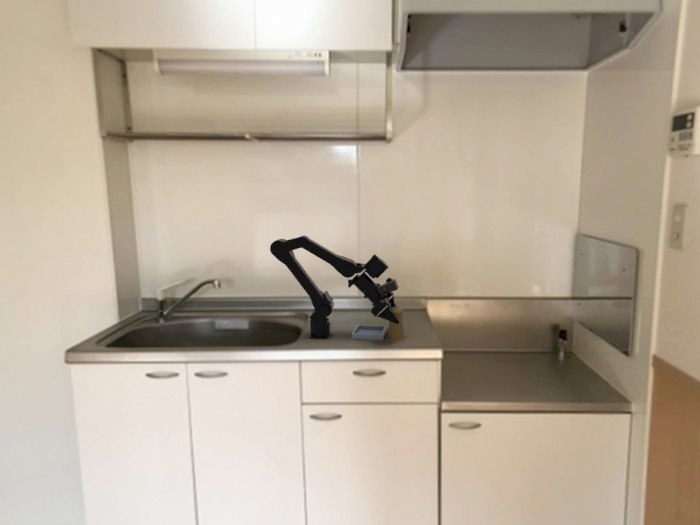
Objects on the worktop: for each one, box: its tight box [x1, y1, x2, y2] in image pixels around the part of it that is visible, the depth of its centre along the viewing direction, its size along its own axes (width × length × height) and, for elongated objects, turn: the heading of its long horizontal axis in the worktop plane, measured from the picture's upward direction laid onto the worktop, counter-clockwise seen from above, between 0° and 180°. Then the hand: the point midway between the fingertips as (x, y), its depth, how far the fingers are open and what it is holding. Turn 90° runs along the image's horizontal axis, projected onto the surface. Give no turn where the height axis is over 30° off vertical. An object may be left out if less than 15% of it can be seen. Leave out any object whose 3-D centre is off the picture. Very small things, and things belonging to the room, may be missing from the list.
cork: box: [387, 306, 406, 341], centre depth 163 cm, size 6×6×11 cm
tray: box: [351, 324, 388, 342], centre depth 166 cm, size 11×11×2 cm
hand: (399, 319), depth 162 cm, fingers open, 9 cm apart
